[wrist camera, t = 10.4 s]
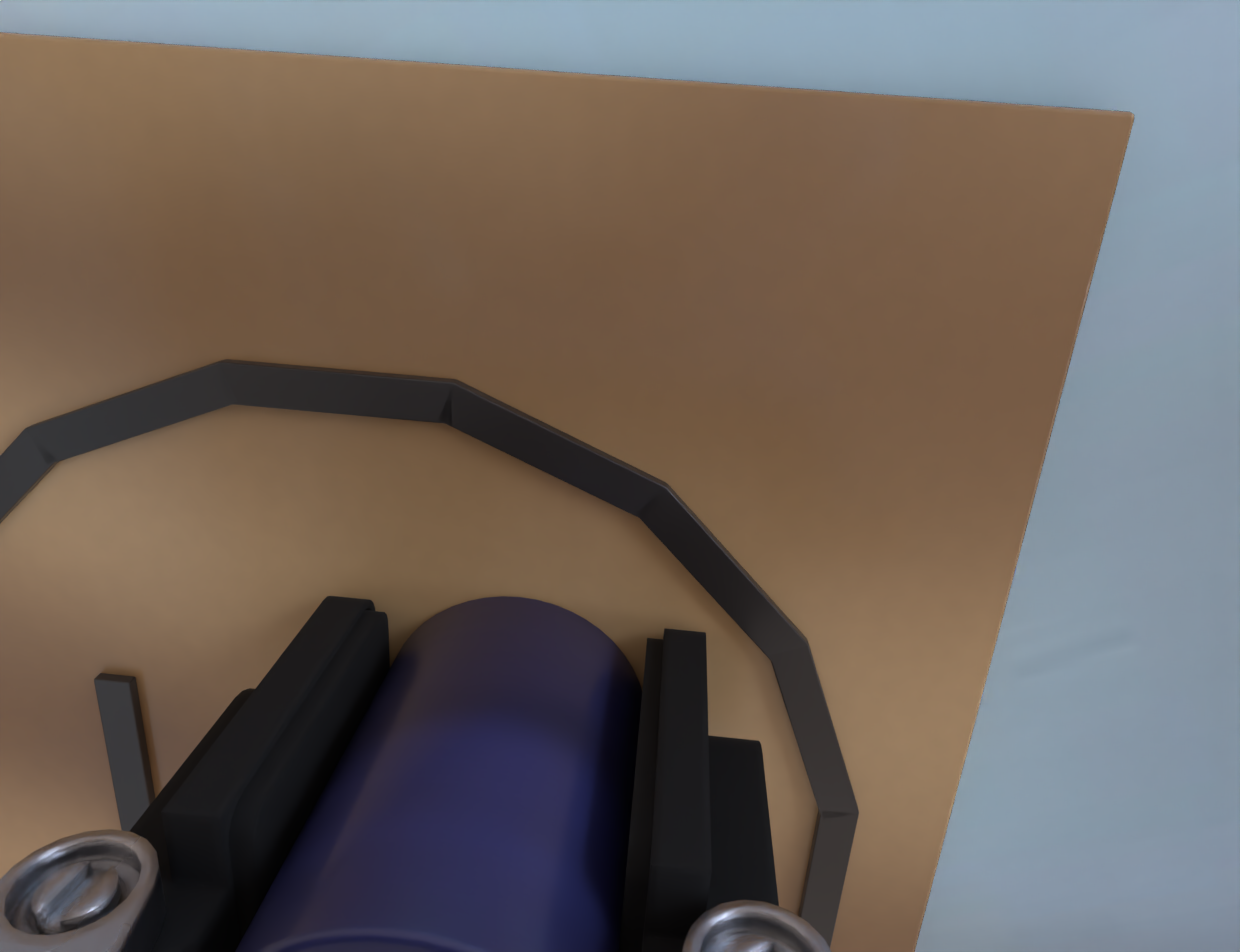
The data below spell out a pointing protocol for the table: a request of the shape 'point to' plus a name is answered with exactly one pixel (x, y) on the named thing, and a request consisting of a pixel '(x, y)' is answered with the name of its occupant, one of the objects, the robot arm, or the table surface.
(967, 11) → the table surface
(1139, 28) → the table surface
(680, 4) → the table surface
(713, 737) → the robot arm
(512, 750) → the eye peg
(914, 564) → the face board
